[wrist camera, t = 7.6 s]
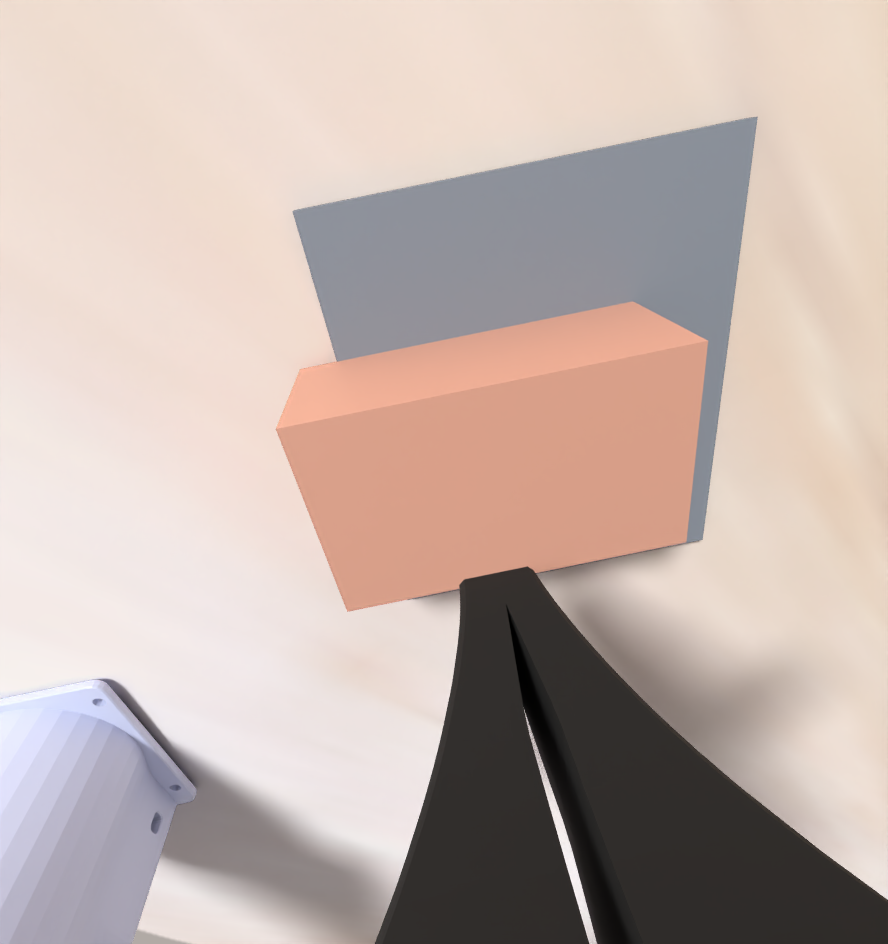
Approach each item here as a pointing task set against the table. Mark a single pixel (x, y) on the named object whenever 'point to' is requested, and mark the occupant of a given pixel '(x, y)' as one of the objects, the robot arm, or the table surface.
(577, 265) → the mat
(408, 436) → the block
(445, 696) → the table surface
